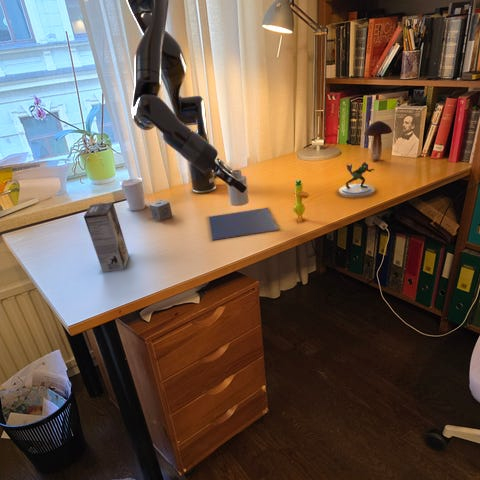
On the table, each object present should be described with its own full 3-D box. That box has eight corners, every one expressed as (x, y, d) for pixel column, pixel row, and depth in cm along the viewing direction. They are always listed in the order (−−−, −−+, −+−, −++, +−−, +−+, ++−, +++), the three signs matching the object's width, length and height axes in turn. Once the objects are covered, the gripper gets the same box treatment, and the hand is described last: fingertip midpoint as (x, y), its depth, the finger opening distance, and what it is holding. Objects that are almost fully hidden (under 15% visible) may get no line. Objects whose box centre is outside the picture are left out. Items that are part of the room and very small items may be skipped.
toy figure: (312, 221, 126) (312, 181, 119) (303, 224, 124) (302, 184, 117) (299, 216, 131) (297, 177, 124) (290, 219, 129) (288, 180, 122)
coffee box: (107, 258, 120) (90, 204, 111) (129, 255, 120) (113, 201, 111) (101, 272, 112) (82, 216, 103) (125, 269, 112) (107, 212, 103)
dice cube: (164, 213, 147) (161, 200, 144) (172, 216, 144) (169, 202, 141) (152, 218, 144) (149, 204, 141) (160, 221, 141) (157, 206, 138)
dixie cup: (153, 205, 156) (146, 179, 150) (135, 213, 151) (127, 185, 146) (140, 202, 161) (133, 176, 155) (122, 209, 156) (115, 183, 151)
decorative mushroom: (363, 164, 170) (365, 124, 161) (361, 157, 178) (363, 119, 170) (391, 162, 167) (394, 122, 159) (387, 155, 176) (391, 117, 168)
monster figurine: (360, 199, 136) (362, 167, 130) (331, 194, 144) (332, 163, 138) (381, 189, 142) (384, 158, 136) (352, 184, 150) (353, 155, 144)
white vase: (229, 201, 129) (225, 170, 124) (247, 198, 130) (244, 167, 124) (231, 207, 125) (227, 175, 119) (249, 204, 125) (246, 172, 119)
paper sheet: (209, 217, 139) (208, 216, 139) (267, 208, 139) (267, 207, 139) (212, 240, 122) (212, 239, 122) (279, 230, 123) (279, 229, 123)
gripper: (207, 145, 110) (255, 183, 117) (204, 135, 122) (248, 171, 129) (190, 168, 113) (238, 204, 120) (189, 157, 125) (233, 190, 132)
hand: (243, 187), depth 125 cm, fingers closed on white vase, 5 cm apart
